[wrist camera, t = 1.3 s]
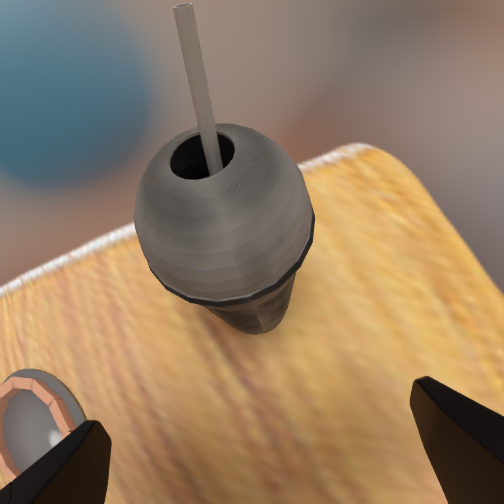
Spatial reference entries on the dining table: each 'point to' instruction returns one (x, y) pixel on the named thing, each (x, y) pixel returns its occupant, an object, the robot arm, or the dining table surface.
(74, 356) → the dining table surface
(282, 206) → the beverage cup
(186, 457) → the dining table surface
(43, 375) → the cup holder
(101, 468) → the robot arm
